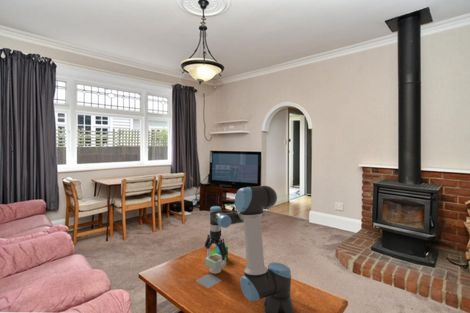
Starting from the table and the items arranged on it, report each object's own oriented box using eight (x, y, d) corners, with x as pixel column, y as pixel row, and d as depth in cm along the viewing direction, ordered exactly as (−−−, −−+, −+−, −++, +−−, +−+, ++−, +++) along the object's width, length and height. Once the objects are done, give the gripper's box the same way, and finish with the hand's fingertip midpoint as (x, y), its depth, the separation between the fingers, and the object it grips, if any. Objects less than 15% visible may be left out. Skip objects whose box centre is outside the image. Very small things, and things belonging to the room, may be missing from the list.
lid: (226, 265, 168) (226, 257, 168) (215, 270, 161) (215, 262, 161) (216, 260, 175) (216, 252, 175) (204, 265, 168) (204, 257, 167)
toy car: (206, 258, 186) (206, 245, 186) (223, 255, 192) (223, 242, 191) (211, 264, 177) (211, 250, 177) (228, 261, 183) (228, 247, 182)
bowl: (223, 270, 169) (223, 265, 168) (215, 275, 163) (215, 269, 163) (215, 266, 174) (215, 261, 173) (207, 270, 168) (207, 265, 168)
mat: (222, 280, 157) (222, 280, 157) (207, 288, 148) (207, 288, 148) (209, 273, 165) (209, 273, 165) (195, 281, 156) (195, 280, 156)
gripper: (233, 233, 161) (232, 265, 162) (207, 224, 178) (207, 253, 179) (224, 236, 155) (224, 269, 157) (199, 226, 172) (199, 256, 174)
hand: (215, 260), depth 168 cm, fingers open, 13 cm apart
